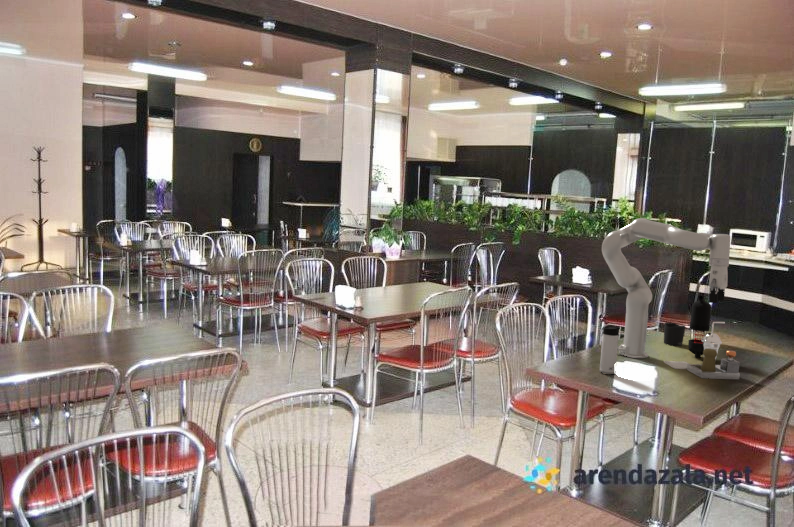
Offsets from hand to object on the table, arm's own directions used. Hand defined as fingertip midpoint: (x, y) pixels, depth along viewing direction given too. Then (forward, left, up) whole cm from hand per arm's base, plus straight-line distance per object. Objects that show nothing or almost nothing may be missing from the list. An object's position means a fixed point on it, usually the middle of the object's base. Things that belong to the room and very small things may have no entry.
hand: (716, 301), depth 263 cm
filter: (+4, +18, -30) cm, 35 cm away
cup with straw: (+4, +8, -30) cm, 31 cm away
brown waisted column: (-7, -10, -30) cm, 32 cm away
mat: (-13, +2, -30) cm, 32 cm away
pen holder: (+4, +42, -30) cm, 51 cm away
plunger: (+1, -13, -25) cm, 28 cm away
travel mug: (-51, -12, -30) cm, 60 cm away
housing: (-5, -10, -30) cm, 32 cm away
